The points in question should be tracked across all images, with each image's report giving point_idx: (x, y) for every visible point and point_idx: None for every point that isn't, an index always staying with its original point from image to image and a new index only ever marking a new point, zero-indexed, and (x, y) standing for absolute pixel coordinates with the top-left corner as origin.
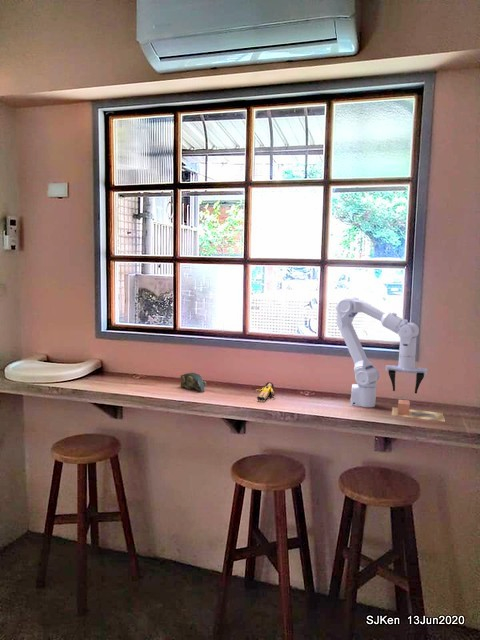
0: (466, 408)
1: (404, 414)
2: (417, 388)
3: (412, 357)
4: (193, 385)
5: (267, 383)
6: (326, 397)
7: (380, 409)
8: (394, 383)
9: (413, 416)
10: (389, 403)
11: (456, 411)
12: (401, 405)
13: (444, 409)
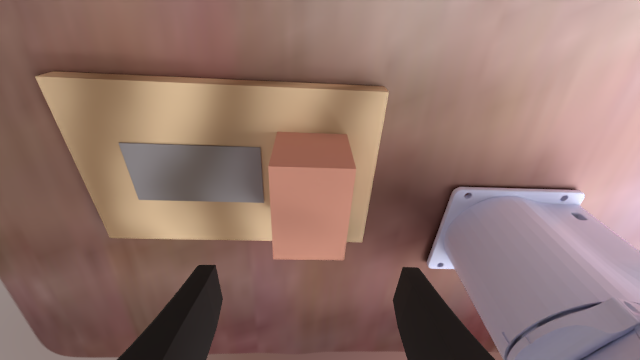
0: (69, 342)
1: (305, 133)
2: (168, 307)
3: None
4: None
5: None
6: None
7: (416, 226)
8: (447, 339)
9: (249, 117)
10: (359, 309)
11: (89, 304)
12: (330, 161)
13: (139, 311)
